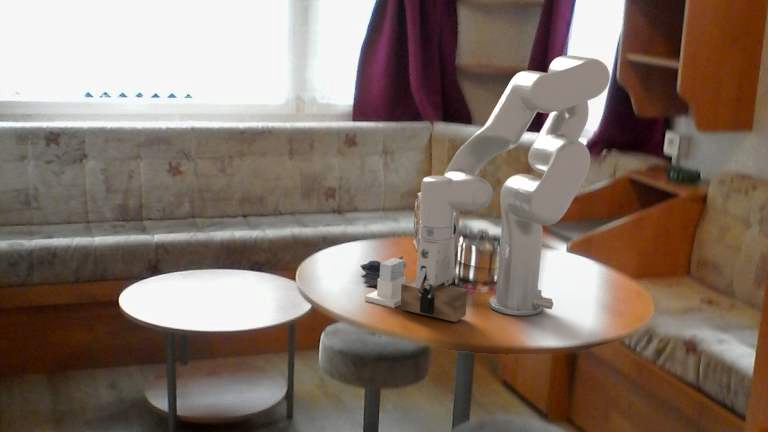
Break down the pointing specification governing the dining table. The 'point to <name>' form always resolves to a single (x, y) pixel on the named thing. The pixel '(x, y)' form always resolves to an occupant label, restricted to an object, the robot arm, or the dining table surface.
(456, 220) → the decorative jar
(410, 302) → the wooden block
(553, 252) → the dining table surface
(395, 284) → the fulcrum stand
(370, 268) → the decorative bat
